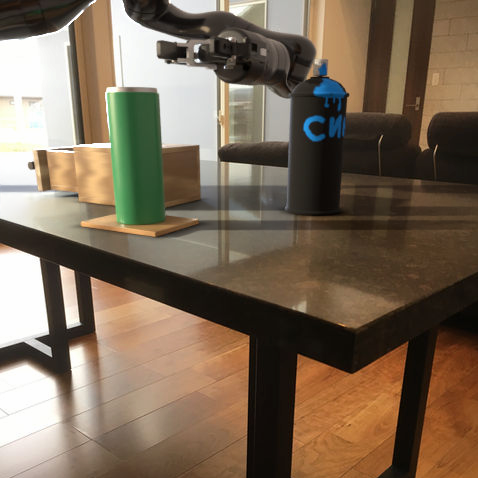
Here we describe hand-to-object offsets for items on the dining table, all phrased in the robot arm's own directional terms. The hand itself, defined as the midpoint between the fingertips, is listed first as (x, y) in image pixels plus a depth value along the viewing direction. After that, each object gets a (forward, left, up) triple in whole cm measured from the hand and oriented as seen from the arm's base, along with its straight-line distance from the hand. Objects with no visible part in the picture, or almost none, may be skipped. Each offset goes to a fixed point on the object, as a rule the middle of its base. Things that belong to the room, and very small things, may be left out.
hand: (184, 47), depth 67 cm
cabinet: (-13, +4, -21) cm, 25 cm away
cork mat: (0, -11, -21) cm, 24 cm away
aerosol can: (+15, +10, -22) cm, 28 cm away
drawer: (-26, +5, -20) cm, 33 cm away
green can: (0, -11, -21) cm, 23 cm away
